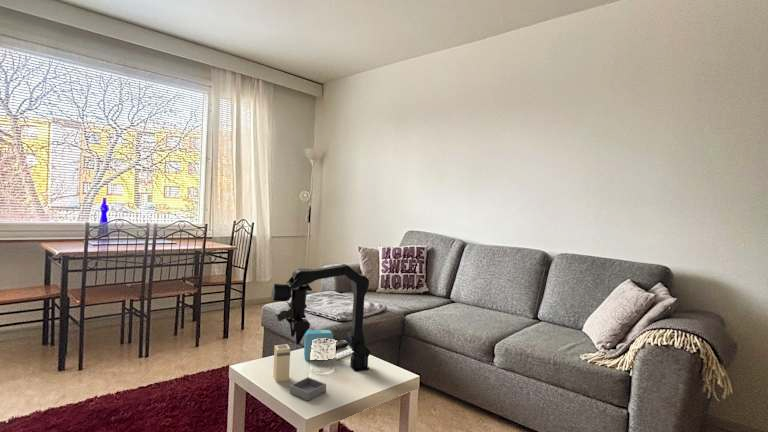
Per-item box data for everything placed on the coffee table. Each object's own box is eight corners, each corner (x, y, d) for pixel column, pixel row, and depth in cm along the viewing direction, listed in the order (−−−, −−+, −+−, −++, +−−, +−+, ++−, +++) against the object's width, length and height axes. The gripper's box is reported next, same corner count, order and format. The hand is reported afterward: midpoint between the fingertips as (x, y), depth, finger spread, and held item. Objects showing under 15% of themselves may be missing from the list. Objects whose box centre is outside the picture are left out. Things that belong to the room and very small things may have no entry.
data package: (330, 355, 193) (331, 329, 192) (332, 359, 188) (333, 332, 188) (303, 357, 189) (304, 330, 189) (304, 361, 185) (305, 333, 185)
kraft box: (286, 375, 170) (287, 343, 169) (289, 380, 165) (290, 348, 165) (273, 376, 168) (274, 345, 167) (275, 382, 163) (277, 349, 163)
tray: (307, 384, 162) (308, 377, 162) (325, 392, 157) (326, 384, 157) (289, 393, 154) (289, 385, 154) (308, 401, 149) (308, 392, 149)
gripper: (273, 295, 174) (270, 333, 174) (282, 307, 157) (278, 349, 157) (300, 295, 178) (297, 332, 179) (311, 307, 161) (308, 348, 162)
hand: (294, 340), depth 169 cm, fingers open, 9 cm apart
